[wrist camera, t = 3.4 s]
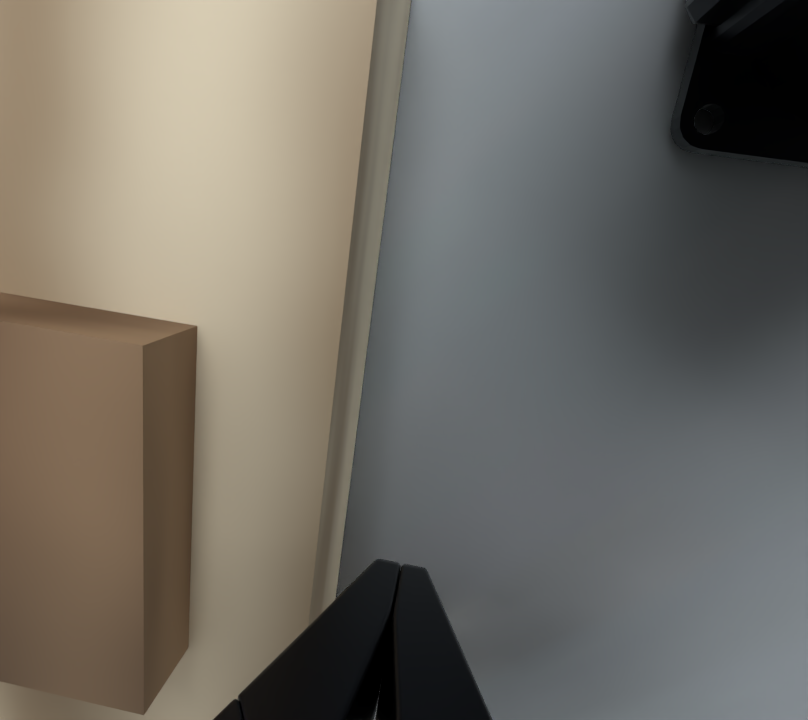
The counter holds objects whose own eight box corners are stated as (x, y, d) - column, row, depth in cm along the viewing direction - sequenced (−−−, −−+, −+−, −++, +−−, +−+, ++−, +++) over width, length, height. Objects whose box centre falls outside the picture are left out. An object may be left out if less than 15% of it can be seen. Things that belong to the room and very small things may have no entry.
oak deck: (412, -13, 9) (390, -120, 6) (315, 754, 15) (280, 881, 12) (-107, -71, 10) (-331, -189, 7) (-19, 675, 16) (-127, 776, 13)
